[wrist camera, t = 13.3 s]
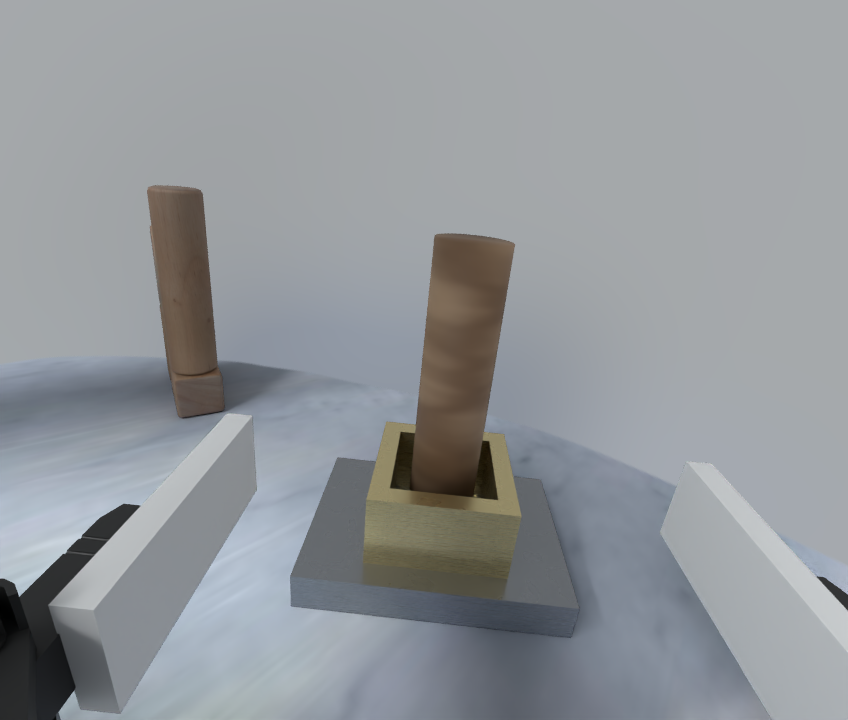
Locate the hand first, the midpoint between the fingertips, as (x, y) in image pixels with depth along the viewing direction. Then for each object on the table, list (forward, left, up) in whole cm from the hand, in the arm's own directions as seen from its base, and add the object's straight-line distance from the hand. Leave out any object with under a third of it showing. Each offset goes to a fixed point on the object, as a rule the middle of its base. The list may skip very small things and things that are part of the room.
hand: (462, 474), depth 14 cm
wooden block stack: (-23, +25, -12) cm, 36 cm away
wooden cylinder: (0, +9, -10) cm, 14 cm away
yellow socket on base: (0, +9, -12) cm, 15 cm away
